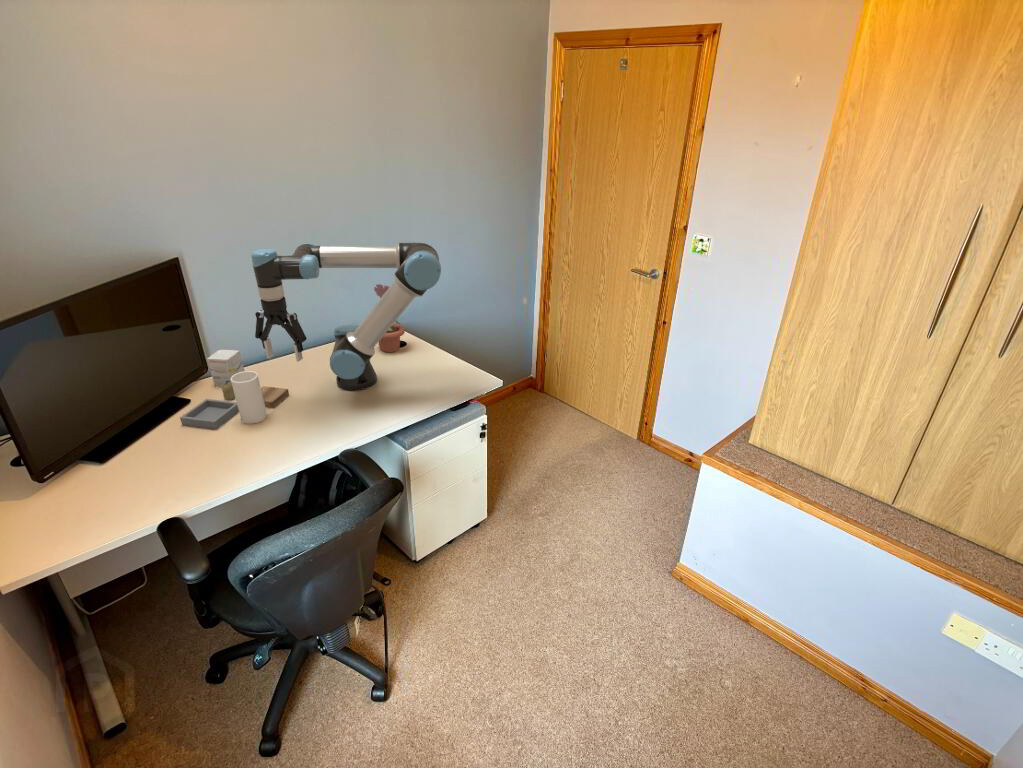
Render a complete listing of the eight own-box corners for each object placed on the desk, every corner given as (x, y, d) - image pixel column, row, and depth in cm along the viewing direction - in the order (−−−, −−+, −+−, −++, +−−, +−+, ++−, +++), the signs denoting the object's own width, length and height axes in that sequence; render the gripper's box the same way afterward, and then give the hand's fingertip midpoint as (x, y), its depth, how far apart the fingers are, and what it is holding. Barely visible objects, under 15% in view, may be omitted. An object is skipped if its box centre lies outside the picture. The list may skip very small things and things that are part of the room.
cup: (272, 413, 189) (263, 373, 181) (255, 425, 182) (244, 384, 174) (253, 409, 191) (243, 369, 183) (235, 421, 184) (224, 379, 177)
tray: (241, 410, 191) (239, 402, 189) (216, 429, 179) (214, 422, 178) (208, 406, 193) (206, 398, 191) (182, 425, 182) (179, 417, 180)
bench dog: (242, 392, 202) (239, 380, 199) (232, 400, 197) (228, 388, 194) (235, 391, 202) (232, 379, 200) (224, 399, 197) (221, 387, 195)
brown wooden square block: (289, 396, 201) (288, 388, 199) (274, 409, 192) (272, 402, 191) (265, 393, 203) (263, 386, 201) (248, 406, 194) (247, 399, 192)
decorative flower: (414, 346, 241) (409, 281, 227) (396, 358, 230) (389, 290, 216) (386, 340, 246) (379, 276, 232) (367, 351, 235) (359, 285, 221)
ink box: (246, 376, 213) (240, 350, 207) (235, 387, 206) (227, 359, 200) (226, 375, 214) (219, 348, 208) (213, 385, 206) (206, 358, 201)
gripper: (310, 296, 178) (321, 357, 188) (248, 291, 182) (261, 351, 192) (298, 304, 172) (309, 366, 182) (233, 298, 175) (248, 359, 186)
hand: (285, 358), depth 187 cm, fingers open, 10 cm apart
